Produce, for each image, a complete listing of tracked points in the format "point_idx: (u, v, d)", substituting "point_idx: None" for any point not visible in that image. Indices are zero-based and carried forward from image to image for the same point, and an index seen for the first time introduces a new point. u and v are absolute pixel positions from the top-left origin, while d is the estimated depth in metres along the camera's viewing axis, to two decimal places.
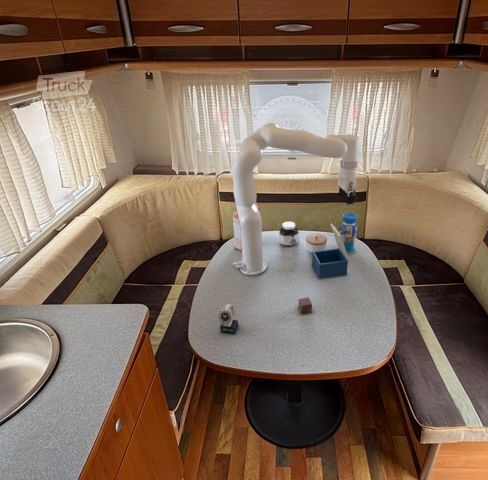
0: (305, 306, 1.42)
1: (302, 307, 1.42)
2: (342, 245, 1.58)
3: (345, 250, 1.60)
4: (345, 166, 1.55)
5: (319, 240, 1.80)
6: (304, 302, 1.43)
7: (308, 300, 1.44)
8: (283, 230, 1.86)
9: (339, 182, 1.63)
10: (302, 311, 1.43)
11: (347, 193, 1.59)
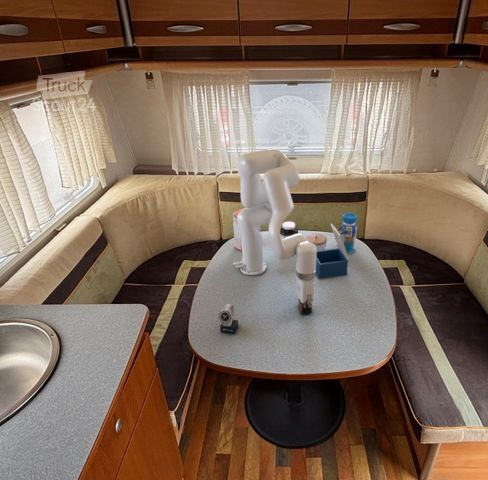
0: None
1: (302, 307, 1.42)
2: (342, 245, 1.58)
3: (345, 250, 1.60)
4: (301, 278, 1.34)
5: (319, 240, 1.80)
6: None
7: None
8: (283, 230, 1.86)
9: (297, 289, 1.43)
10: (302, 311, 1.43)
11: None
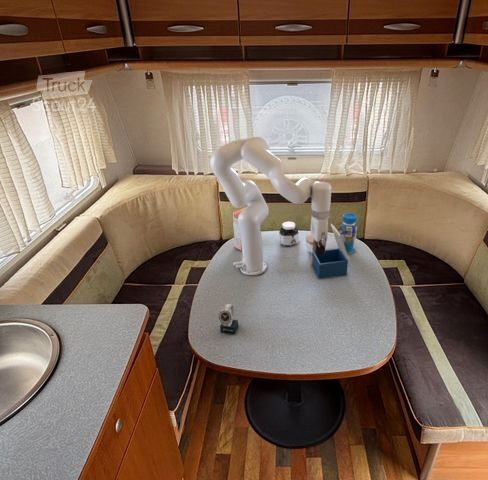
0: None
1: (316, 247, 1.49)
2: (342, 245, 1.58)
3: (345, 250, 1.60)
4: (316, 216, 1.42)
5: None
6: None
7: None
8: (283, 230, 1.86)
9: (311, 230, 1.50)
10: (316, 251, 1.50)
11: None
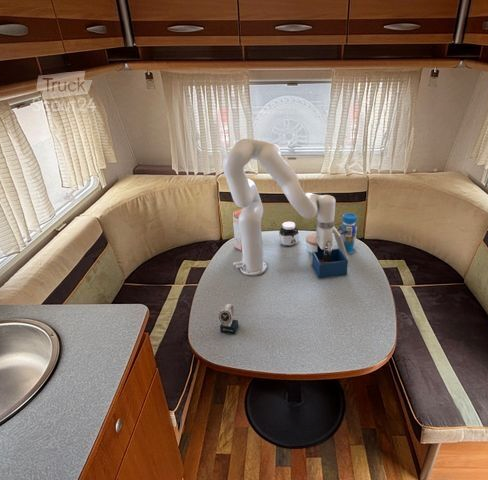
0: None
1: None
2: (342, 245, 1.58)
3: (345, 250, 1.60)
4: (321, 226, 1.55)
5: None
6: (322, 262, 1.67)
7: None
8: (283, 230, 1.86)
9: (316, 239, 1.64)
10: None
11: (324, 251, 1.60)
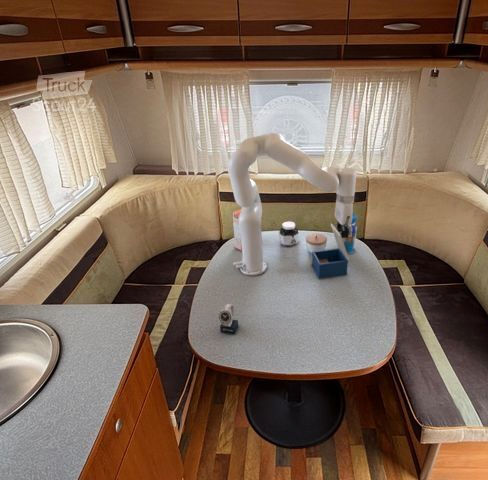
0: None
1: None
2: (342, 245, 1.58)
3: (345, 250, 1.60)
4: (341, 200, 1.51)
5: (319, 240, 1.80)
6: (322, 262, 1.67)
7: (326, 260, 1.68)
8: (283, 230, 1.86)
9: (336, 215, 1.60)
10: None
11: None
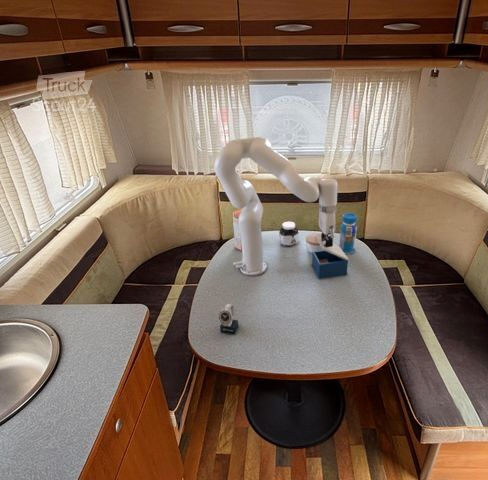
0: None
1: None
2: None
3: (339, 255, 1.61)
4: (324, 210, 1.51)
5: None
6: (322, 262, 1.67)
7: (326, 260, 1.68)
8: (283, 230, 1.86)
9: (319, 224, 1.60)
10: None
11: (326, 236, 1.58)
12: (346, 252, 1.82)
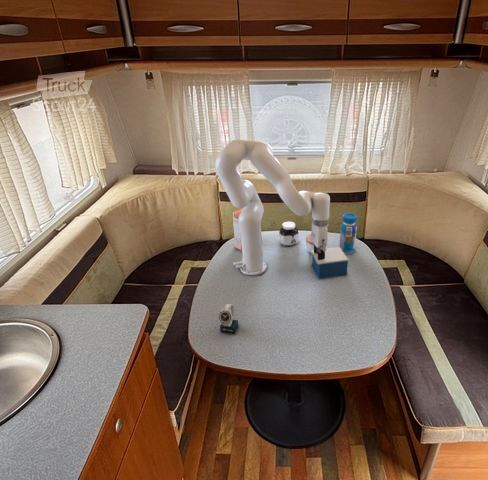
0: None
1: None
2: None
3: (336, 261, 1.62)
4: (316, 224, 1.54)
5: None
6: None
7: None
8: (283, 230, 1.86)
9: (312, 237, 1.62)
10: None
11: None
12: (346, 252, 1.82)
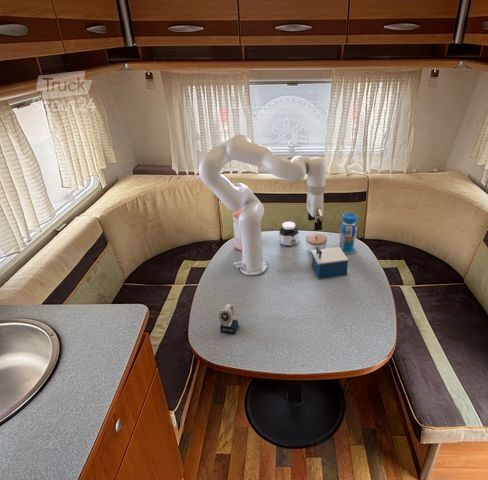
0: None
1: None
2: None
3: (336, 261, 1.62)
4: (311, 191, 1.45)
5: (319, 240, 1.80)
6: None
7: None
8: (283, 230, 1.86)
9: (307, 206, 1.54)
10: None
11: (315, 219, 1.50)
12: (346, 252, 1.82)
